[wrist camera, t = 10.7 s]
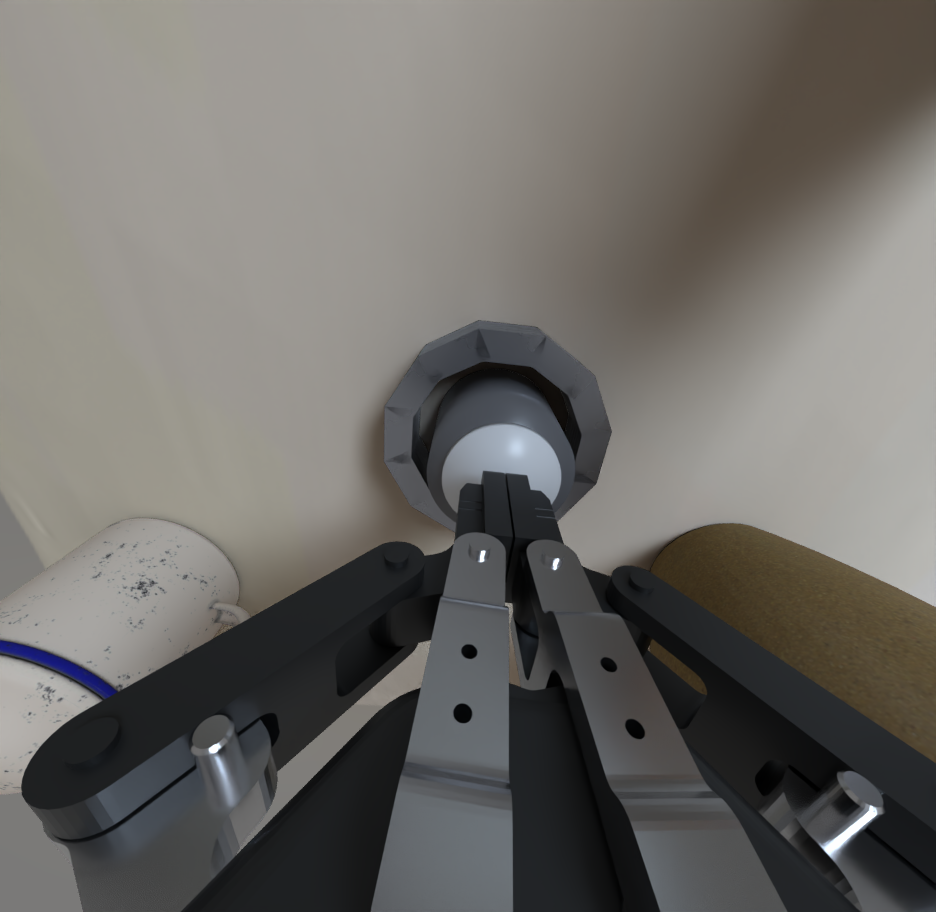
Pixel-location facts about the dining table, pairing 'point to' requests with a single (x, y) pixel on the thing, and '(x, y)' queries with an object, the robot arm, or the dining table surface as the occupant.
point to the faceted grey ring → (507, 347)
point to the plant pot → (814, 622)
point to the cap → (497, 438)
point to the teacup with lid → (104, 627)
